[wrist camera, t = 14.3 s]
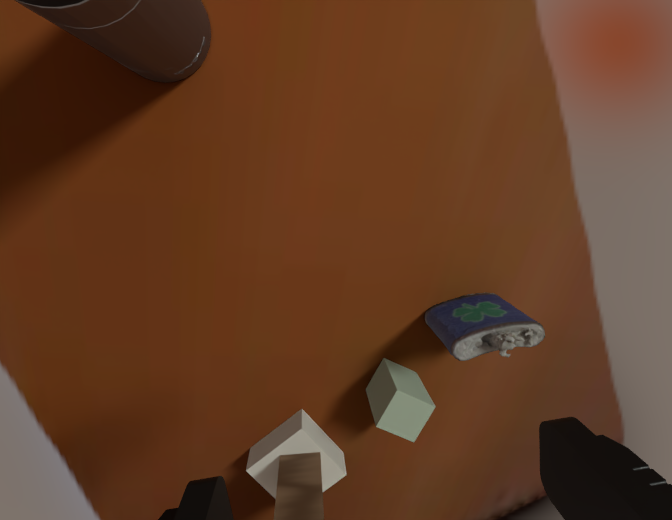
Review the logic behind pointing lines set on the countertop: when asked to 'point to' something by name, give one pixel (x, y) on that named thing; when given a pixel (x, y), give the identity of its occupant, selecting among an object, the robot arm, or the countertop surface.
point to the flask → (482, 326)
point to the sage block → (399, 400)
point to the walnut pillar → (299, 487)
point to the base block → (295, 452)
